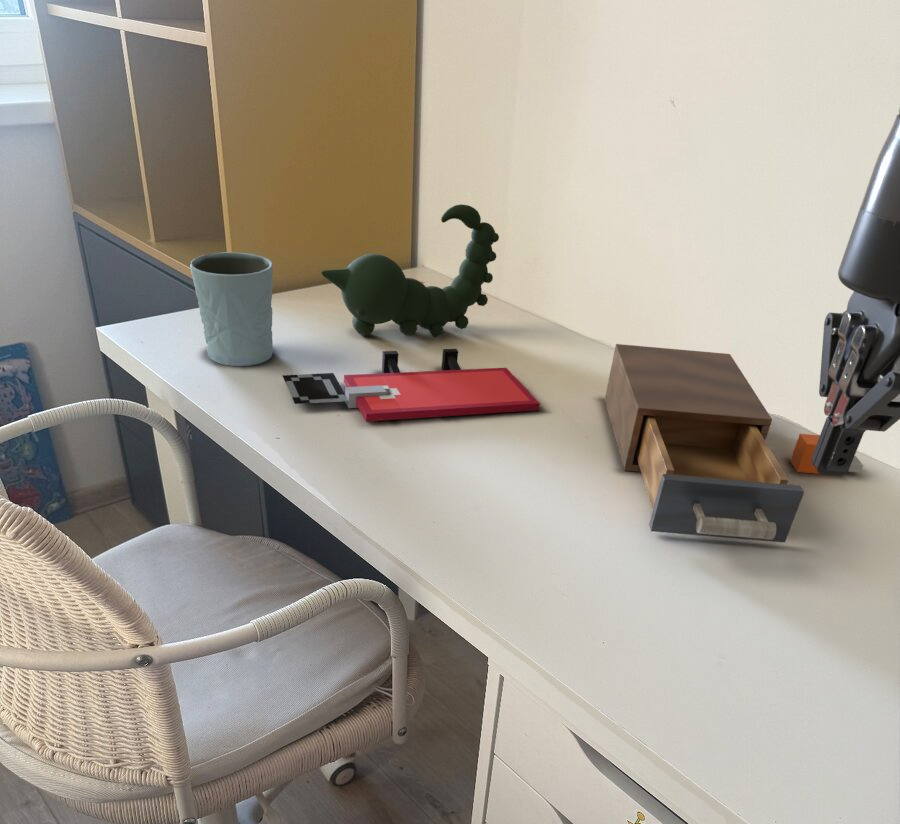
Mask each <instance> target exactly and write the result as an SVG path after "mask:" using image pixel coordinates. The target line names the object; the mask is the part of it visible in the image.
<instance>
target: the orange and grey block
mask: <svg viewBox="0 0 900 824" xmlns="http://www.w3.org/2000/svg"><path fill="white" fill-rule="evenodd" d="M819 437H820V434H809V433H808V434H807V433H799V435H798V437H797V440H796V443H795V446H794V448H793V452H792V455H791V458H790V460H789V462H790V463H791V465H792V467H793V468H794V470H795V471H796V473H803V474H804V473H805V474H816V475H820V474H819V473H818V471H817V470H816V468H815V467H814V465H813V464H812V462H811V458H812V455H813V453H814V450H815V447H816V445H817V442H818V439H819ZM863 467H864V464H863V463H862V462H861V460H860V459H859V458H858V456H856V455H855V456H854V458H853V461H852V463H851V465H850V468H849V470H848V472H849V473H861V472H862V469H863ZM848 472H847V473H848Z"/></svg>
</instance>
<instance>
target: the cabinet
mask: <svg viewBox="0 0 900 824" xmlns="http://www.w3.org/2000/svg"><path fill="white" fill-rule="evenodd" d="M613 351H614V352H613V357H612V362H611V367H610V372H609V375H608V382H607V387H606V391H605V396H604V402H605V405H606V410H607V413H608V418H609V421H610V423H611V428H612V432H613V435H614V438H615V443H616V445H617V450H618V453H619V457H620V461H621V464H622V467H623V471H627V472H639V473H641V470H640V467H639V464H638V461H637V457H636V454H635V451H636V447H637V443H638V438H639V434H640V430H641V425H642V421H643V417H644V415H649V416H661V417H672V418H684V419H696V420H707V421H719V422H730V423H742V424H753V425H756V426H757V428H758V430H759V431H760V433H761V435H762V436H763V438H764V440H765V441H766V440H767V438H768V437H767V436H768V433H769V430H770V428H771V424H772V421H773V418H772V416H771V415H770V414H769V412H768V411H767V409H766V407H765V406H764V405H763V403H762V401H761V400H760V398H759V396H758V395H757V394H756V392H755V390H754V389H753V387H752V386H751V384H750V383H749V381H748V380H747V378H746V376H745V375H744V374H743V372H742V370H741V369H740V367H739V366H738V364H737V362H736V361H735V359H734V358H733V356H732V355H731V354H730V353H724V352H712V351H700V350H692V349H691V350H690V349H689V350H688V349H678V348H669V347H668V348H666V347H655V346H646V345H645V346H643V345H632V344H622V343H621V344H620V343H616V344H615V346H614V350H613Z"/></svg>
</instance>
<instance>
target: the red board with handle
mask: <svg viewBox="0 0 900 824" xmlns="http://www.w3.org/2000/svg"><path fill="white" fill-rule="evenodd" d="M441 355H442V358H441V370H426V371H424V370H423V371H421V370H420V371H403V372H401V371H400V367H399V352H398V351H397V350H383V351H382V359H381V361H382V362H381V372H380V373H379V372H377V373H359V374H344V375H343V383H344V385H345V387H344V388H345V389H343V387H342V385H341V384H340V382H339V381H338V378H337V377H336V375H335V373H334V372H326V373H302V374H282V378H283V380H284V383H285V385H286V387H287V389H288V392H289V394H290V396H291V399H292V401H293V403H294V405H300V404H301V405H302V404H317V403H318V404H319V403H322V404H323V403H339V402H345V405H346V406H347V408H348V409H357V408H358V411H360V413H361V415H362V417H363V419H364V420H365V422H376V421H393V420H406V419H420V418H421V419H422V418H423V419H424V418H438V417H439V418H440V417H453V416H469V415H483V414H484V415H485V414H497V413H498V414H500V413H514V412H515V413H516V412H531V411H539V410H540V406H541V402H539V400H538V399H536V397H535V396H534V395H533V394H532V393H531V392H530V391H529V390H528V389H527V388H526V387H525V386H524V385H523V384H522V382H521V381H520V380H519V379H518V378H517V377H516V376H515V375H514V374H513V373H512V372H511V371H510V370H509V369H508V367H491V368H487V367H486V368H467V369H462V368H461V366H460V364H459V362H458V360H459V359H458V358H459V350H458V348H443V349H442V354H441ZM344 390H345V391H344Z"/></svg>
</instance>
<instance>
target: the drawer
mask: <svg viewBox="0 0 900 824" xmlns="http://www.w3.org/2000/svg"><path fill="white" fill-rule="evenodd" d="M635 454H636V457H637V461H638V464H639V467H640V470H641V472H640V473H641V477H642V480H643V484H644V486H645V490H646V492H647V497H648V500H649V502H650V505H651V509H652V511H651V512H652V513H651V516H650V520H649V524H648V526H649V530H650V532H654V533H655V532H656V533H667V534H679V535H690V536H702V537H715V538H728V539H737V540H751V541H762V542H773V543H786V541H787V538H788V536H789V533H790V531H791V528H792V526H793V523H794V520H795V517H796V515H797V512H798V510H799V507H800V505H801V502H802V499H803V496H804V494H805V490H804V489H803V487H802V486H801V485H800V484H799V485H797V484H788V483H789V478H788V476H787V475H786V473H785V471H784V469H783V468H782V467H781V465H780V463H779V461H778V460H777V458H776V455H774V453H773V452H772V450H771V448H770V446H769V445H768V443H767V441H766V440H764V438H763V436H762V435H761V433H760V431H759V430H758V428H757V426H756V425H753V424H742V423H730V422H719V421H707V420H696V419H684V418H672V417H661V416H649V415H644V417H643V421H642V425H641V430H640V434H639V438H638V443H637V447H636V451H635Z"/></svg>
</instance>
